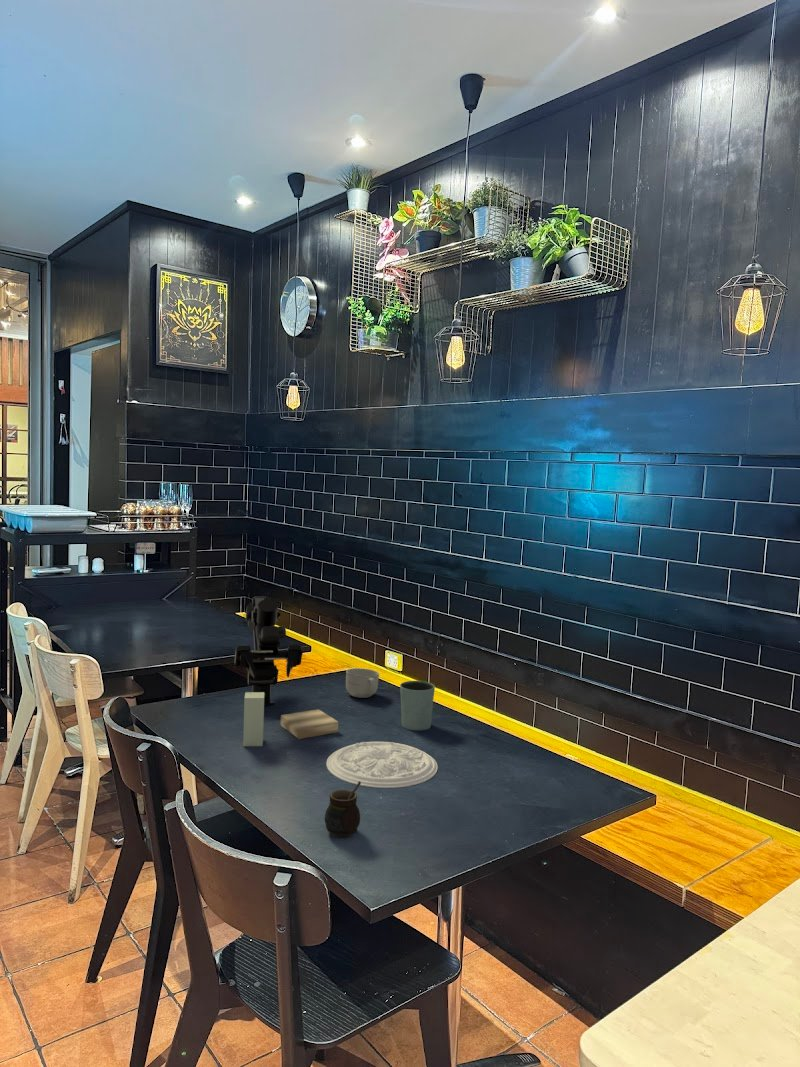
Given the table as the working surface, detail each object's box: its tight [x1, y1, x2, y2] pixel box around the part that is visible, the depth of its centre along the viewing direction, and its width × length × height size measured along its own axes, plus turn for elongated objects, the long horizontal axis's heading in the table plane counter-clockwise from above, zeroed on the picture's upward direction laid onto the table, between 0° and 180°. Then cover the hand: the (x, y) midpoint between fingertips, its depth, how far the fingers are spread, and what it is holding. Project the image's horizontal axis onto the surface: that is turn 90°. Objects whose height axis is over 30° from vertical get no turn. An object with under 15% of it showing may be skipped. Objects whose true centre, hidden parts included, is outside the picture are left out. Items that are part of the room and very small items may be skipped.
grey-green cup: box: [399, 680, 436, 732], centre depth 221 cm, size 10×10×12 cm
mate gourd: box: [324, 781, 361, 838], centre depth 155 cm, size 7×8×10 cm
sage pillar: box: [242, 691, 265, 747], centre depth 201 cm, size 5×5×13 cm
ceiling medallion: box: [326, 741, 439, 789], centre depth 191 cm, size 28×28×3 cm
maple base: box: [280, 708, 339, 740], centre depth 214 cm, size 12×12×3 cm
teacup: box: [345, 667, 380, 699], centre depth 246 cm, size 14×11×8 cm
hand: (271, 676), depth 209 cm, fingers open, 9 cm apart
